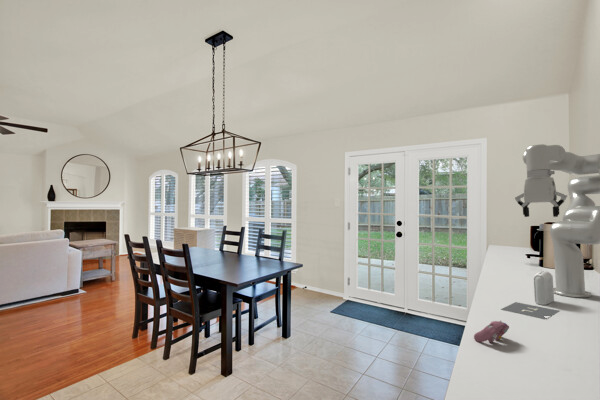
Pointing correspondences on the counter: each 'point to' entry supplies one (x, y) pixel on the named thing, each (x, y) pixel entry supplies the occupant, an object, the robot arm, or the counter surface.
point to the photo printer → (543, 288)
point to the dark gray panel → (530, 310)
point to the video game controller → (492, 332)
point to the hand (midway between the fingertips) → (540, 216)
